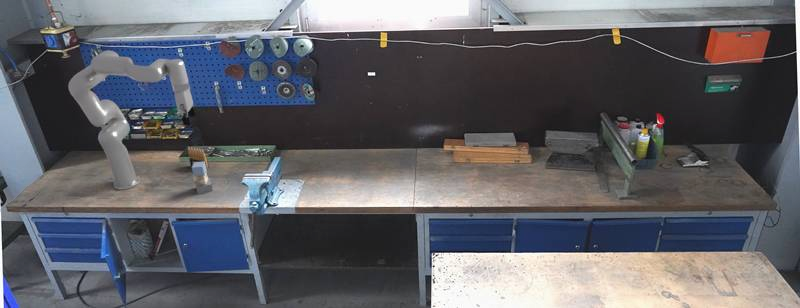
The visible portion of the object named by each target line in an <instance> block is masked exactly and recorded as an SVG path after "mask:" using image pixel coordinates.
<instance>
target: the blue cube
mask: <svg viewBox="0 0 800 308" xmlns="http://www.w3.org/2000/svg"><path fill="white" fill-rule="evenodd" d="M191 171H192V174H193V176H194V177H195V176H205V174H206V173H207V172H208V170H207V168H206V164H205V161H203V162H194V164H193V166H192V167H191Z"/></svg>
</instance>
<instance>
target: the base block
mask: <svg viewBox="0 0 800 308" xmlns="http://www.w3.org/2000/svg"><path fill="white" fill-rule="evenodd" d="M195 189H196V192H197V195H200V194H205V193H210V192H213V191H214V189H213V185H212V181H211V178H210V177H208V181H207V184H206V185H200V186H195Z"/></svg>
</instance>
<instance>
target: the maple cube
mask: <svg viewBox="0 0 800 308" xmlns="http://www.w3.org/2000/svg"><path fill="white" fill-rule="evenodd" d="M208 178H209V177H208V173H207V172H206V174H205V176H195V177H194V175H193V177H192V179H193V181H194V186H195V187H196V186H200V185H206V184H207V181H208Z"/></svg>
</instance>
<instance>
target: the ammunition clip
mask: <svg viewBox="0 0 800 308" xmlns="http://www.w3.org/2000/svg"><path fill="white" fill-rule="evenodd" d="M187 152H188V156H189V163H190V167H191V168H192V166H193V164H194V162H203V161H205V164H206V168H207V171H208V170H209V169H210V166H209V165H210V164H209V161H208V159H207V157H206V154H205V151H204V149H203V148H201V149H200V147H199V148H198V147H196V148H195V147H192V146H190V147H189V146H187Z"/></svg>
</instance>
